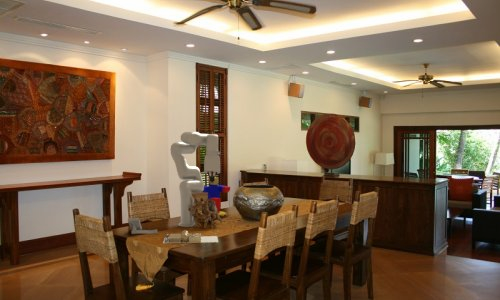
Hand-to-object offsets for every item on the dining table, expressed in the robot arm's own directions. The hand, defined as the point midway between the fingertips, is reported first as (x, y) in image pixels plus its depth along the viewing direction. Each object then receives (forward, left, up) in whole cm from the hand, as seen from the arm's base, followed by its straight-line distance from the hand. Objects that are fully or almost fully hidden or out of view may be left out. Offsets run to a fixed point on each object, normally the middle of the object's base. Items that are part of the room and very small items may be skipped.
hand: (212, 182), depth 269 cm
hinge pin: (+16, -27, -33) cm, 46 cm away
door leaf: (+16, -12, -33) cm, 38 cm away
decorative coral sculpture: (-26, -5, -33) cm, 43 cm away
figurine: (-69, +4, -33) cm, 77 cm away
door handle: (-8, -44, -34) cm, 56 cm away
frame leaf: (+16, -21, -33) cm, 42 cm away
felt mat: (+16, -13, -33) cm, 39 cm away
